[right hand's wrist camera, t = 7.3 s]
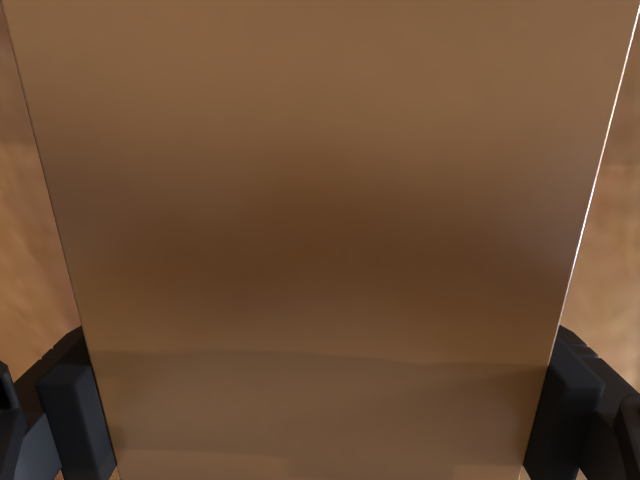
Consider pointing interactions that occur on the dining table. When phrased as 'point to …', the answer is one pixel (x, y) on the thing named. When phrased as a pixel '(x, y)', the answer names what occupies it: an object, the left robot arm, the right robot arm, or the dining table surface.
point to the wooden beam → (320, 221)
